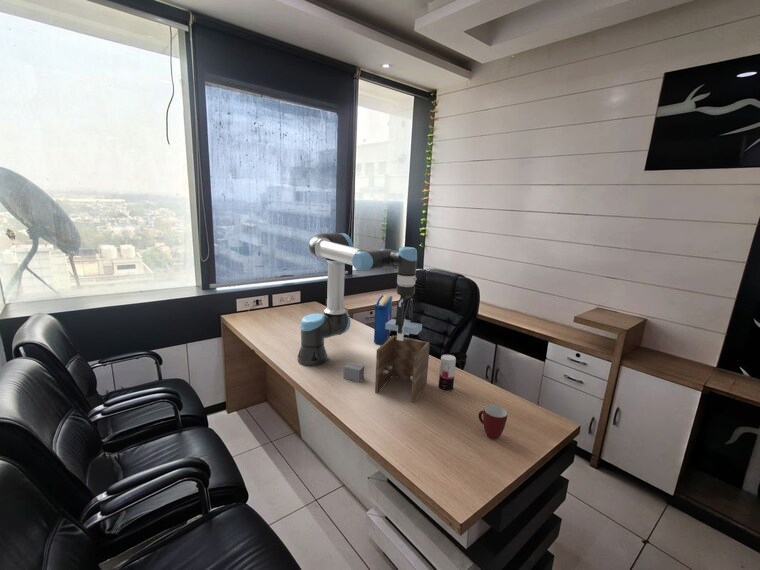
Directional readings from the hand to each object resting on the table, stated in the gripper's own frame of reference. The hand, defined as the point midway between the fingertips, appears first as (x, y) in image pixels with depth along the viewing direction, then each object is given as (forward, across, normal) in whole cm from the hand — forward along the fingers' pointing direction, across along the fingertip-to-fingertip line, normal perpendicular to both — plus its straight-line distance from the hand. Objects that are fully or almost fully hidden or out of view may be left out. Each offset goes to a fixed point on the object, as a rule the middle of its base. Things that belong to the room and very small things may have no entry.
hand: (403, 337), depth 153 cm
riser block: (+25, 0, +23) cm, 34 cm away
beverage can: (+25, +11, -18) cm, 33 cm away
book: (+25, +53, +31) cm, 66 cm away
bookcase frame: (+25, +2, 0) cm, 25 cm away
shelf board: (-4, 0, 0) cm, 4 cm away
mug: (+25, -15, -40) cm, 49 cm away
